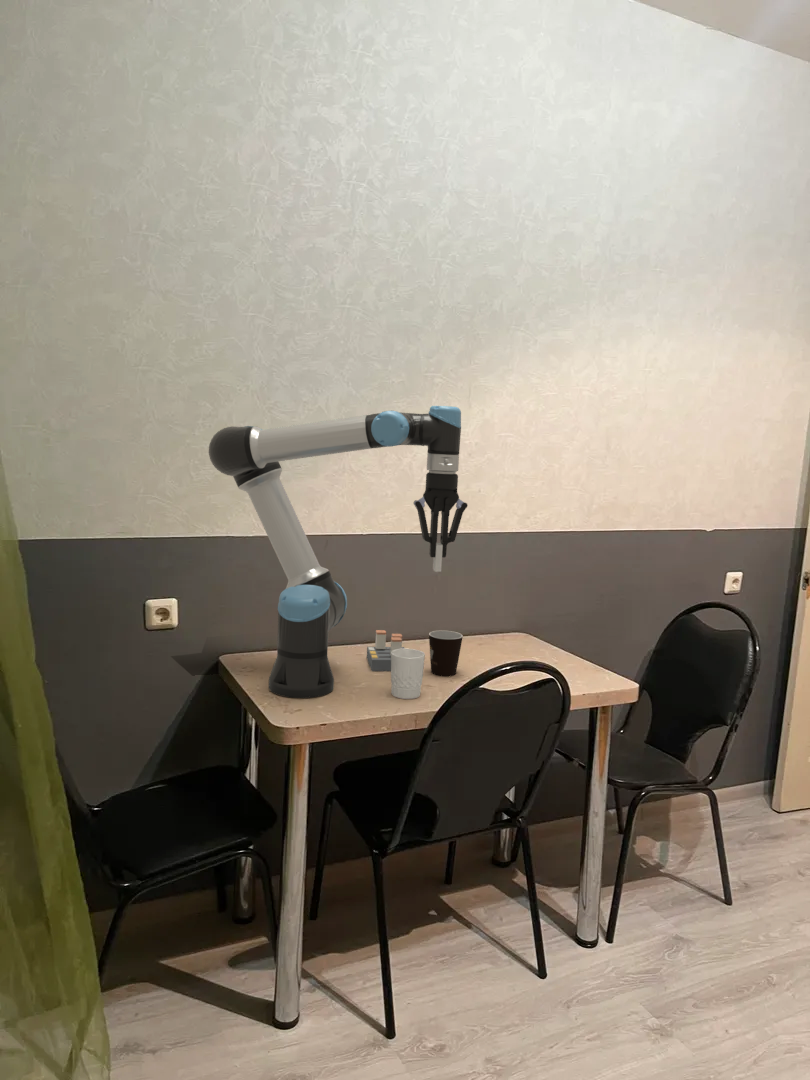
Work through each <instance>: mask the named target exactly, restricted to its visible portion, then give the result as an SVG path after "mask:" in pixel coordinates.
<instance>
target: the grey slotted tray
mask: <svg viewBox="0 0 810 1080" xmlns="http://www.w3.org/2000/svg"><path fill="white" fill-rule="evenodd" d="M390 648H391V646H385V649H376V647H375V646H366V659H367V662H368V665H369V668H370V670H371V672H391V655H390ZM404 648H405V646H402V649H404Z"/></svg>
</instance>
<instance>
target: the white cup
mask: <svg viewBox="0 0 810 1080" xmlns="http://www.w3.org/2000/svg"><path fill="white" fill-rule="evenodd" d="M425 656H426V653H425V652H424V651H423V650H419V649H415V648H406V647H404V649H396V650H393V651H392V652H391V671H390V683H391V687H390V688H391V695H392V696H393V697H394V698H398V699H403V700H414V699H417V698H419V697H421V689H422V685H423V676H424V668H425V667H424V666H425Z"/></svg>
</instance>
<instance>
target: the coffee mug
mask: <svg viewBox="0 0 810 1080" xmlns="http://www.w3.org/2000/svg"><path fill="white" fill-rule="evenodd" d="M463 637H464V636H463V634H462V633H460V632H456V631H454V630H453V631H451V630H443V629H442V630H433V631H429V633H428V641H429V657H430V658H429V659H430V673H431V674H432V675H434V676H437V677H442V678H443V677H445V678H448V677H449V676H450V677H454V676H456V675H457V670H458V666H459V665H458V664H459V660H460V659H459V658H460V653H461V649H462V642H463V639H464V638H463ZM450 677H449V678H450Z"/></svg>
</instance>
